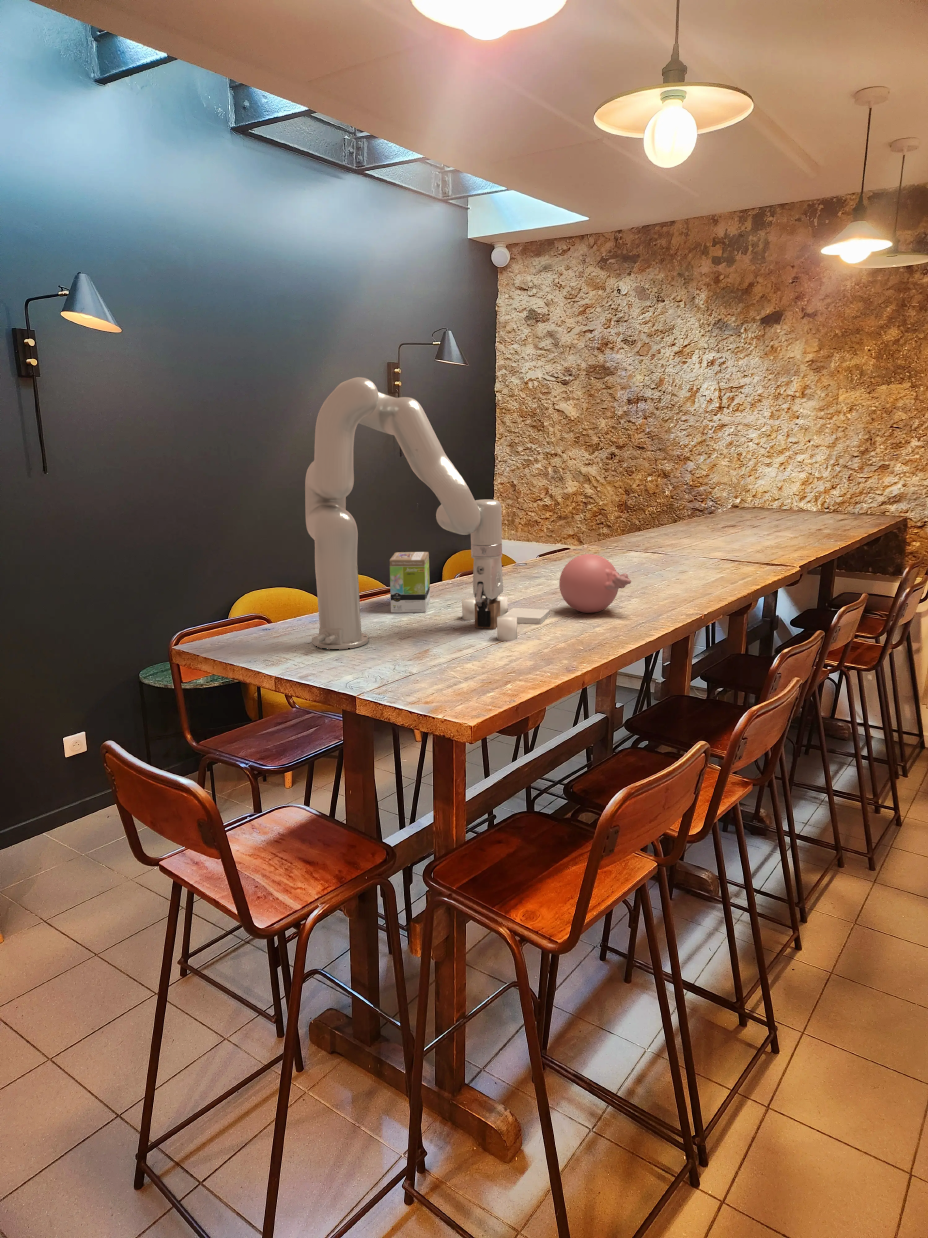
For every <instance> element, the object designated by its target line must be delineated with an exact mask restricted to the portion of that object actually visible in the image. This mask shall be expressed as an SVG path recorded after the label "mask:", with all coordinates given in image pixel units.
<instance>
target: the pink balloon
mask: <svg viewBox="0 0 928 1238" xmlns="http://www.w3.org/2000/svg"><path fill="white" fill-rule="evenodd" d="M559 576H560V577H559V591H560V594H561V597H562V599H563V600H564V602H565V603H566V604H567V606H569V607H571V608H572V609H573V610H575V611H577V612H580V613H584V614H594V613H598V612H602V610H605V609H606V608H608V607H609V606H610V605H612V603H613V602H614V600H616V598H617V594H618V592H619V589H624V588H626V587H627V585H630V584H631V583H632V581H631V579H630V578H629V574H628V573H622V574H620V573H619V572H618V571H617V569H616V568H615V566H614V565H613V564H612V563H611V561H609V560H608V559H606V558H605V557H603V556H601V555H598V554H595V553H594V554H591V553H585V554H580V555H578V556H575V557H574V558H573V559H570V560H569V561H568V562H567V564H566V565H564V567H563V569H562V571H561V572H560V575H559Z"/></svg>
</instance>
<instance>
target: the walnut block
mask: <svg viewBox="0 0 928 1238" xmlns="http://www.w3.org/2000/svg"><path fill="white" fill-rule="evenodd" d="M483 602H485V604H486V601H483ZM489 611H490V617H491V626H490V627H479V626H478V620H477V604H476V603H475V620H474V628H476V629H489V630H491V629H492V630H495V629H497V617H499V616H500V601H494V600H490V602H489Z"/></svg>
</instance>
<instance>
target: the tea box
mask: <svg viewBox="0 0 928 1238" xmlns="http://www.w3.org/2000/svg"><path fill="white" fill-rule="evenodd" d="M429 557H430V553H429V551H405V552H404V551H401V552H398V551H397V552H394V553H393V555H392V556H391V558H390V559H389V585H390V593H389V594H390V613H392V614H394V613H398V614H399V613H400V614H401V613H402V614H403V613H426V611H427V610H428V607H429V604H430V601H431V592H430V591H431V590H430V588H431V585H430V584H431V583H430V582H431V581H430V558H429Z"/></svg>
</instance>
